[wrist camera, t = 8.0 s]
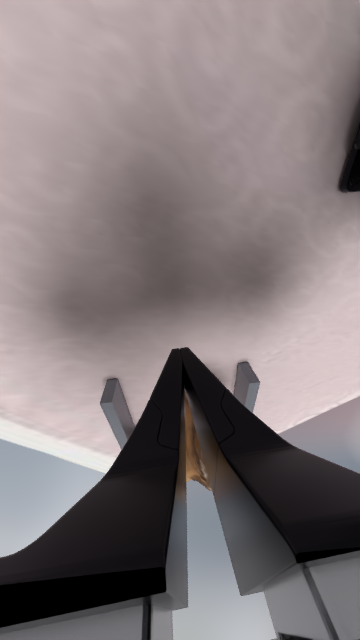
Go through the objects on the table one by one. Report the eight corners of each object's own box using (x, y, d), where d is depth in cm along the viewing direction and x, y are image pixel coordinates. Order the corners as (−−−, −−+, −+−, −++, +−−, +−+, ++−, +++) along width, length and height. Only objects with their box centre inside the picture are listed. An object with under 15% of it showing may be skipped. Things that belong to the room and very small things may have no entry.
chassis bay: (247, 362, 18) (260, 382, 16) (234, 435, 25) (241, 456, 23) (107, 380, 17) (99, 403, 15) (135, 451, 24) (133, 473, 22)
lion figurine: (198, 362, 17) (231, 480, 10) (235, 380, 19) (288, 490, 12) (125, 437, 22) (109, 553, 15) (161, 445, 24) (163, 551, 17)
